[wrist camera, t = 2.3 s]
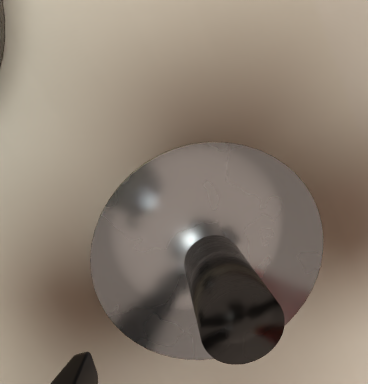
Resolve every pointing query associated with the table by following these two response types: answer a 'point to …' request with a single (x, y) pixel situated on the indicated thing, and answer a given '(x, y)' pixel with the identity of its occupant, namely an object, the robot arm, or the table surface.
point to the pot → (1, 30)
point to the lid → (207, 252)
